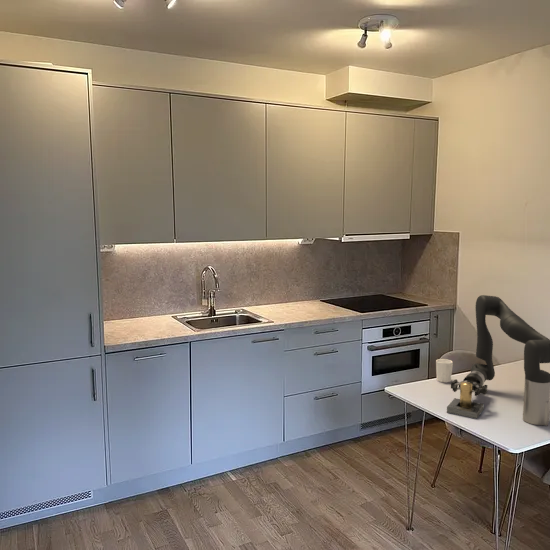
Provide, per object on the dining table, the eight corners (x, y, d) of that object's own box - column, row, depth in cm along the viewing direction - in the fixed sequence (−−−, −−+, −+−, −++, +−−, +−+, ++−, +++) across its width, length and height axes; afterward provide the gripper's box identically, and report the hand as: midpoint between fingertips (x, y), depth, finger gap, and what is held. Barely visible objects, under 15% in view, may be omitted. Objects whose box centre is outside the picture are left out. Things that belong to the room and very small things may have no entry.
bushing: (472, 410, 212) (473, 383, 211) (469, 413, 208) (470, 386, 207) (461, 408, 215) (462, 381, 213) (458, 411, 211) (459, 384, 210)
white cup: (432, 379, 253) (432, 359, 252) (444, 377, 256) (445, 358, 255) (442, 383, 246) (443, 364, 245) (455, 381, 249) (456, 362, 247)
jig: (483, 409, 213) (483, 403, 213) (476, 418, 203) (476, 413, 203) (454, 403, 220) (454, 398, 219) (446, 412, 210) (446, 406, 210)
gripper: (458, 370, 226) (447, 379, 212) (491, 375, 218) (483, 386, 204) (457, 386, 227) (447, 397, 213) (490, 392, 219) (482, 403, 205)
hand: (464, 391), depth 209 cm, fingers open, 8 cm apart
